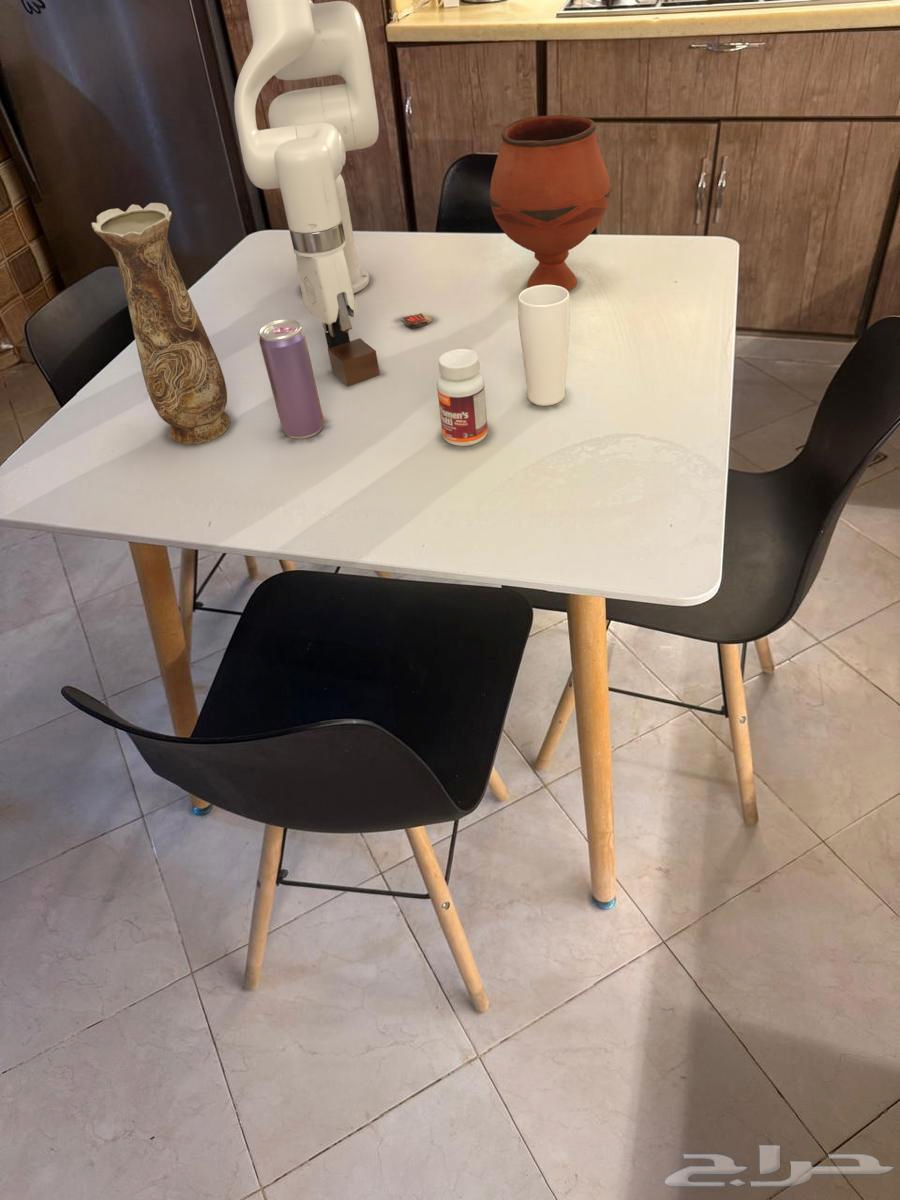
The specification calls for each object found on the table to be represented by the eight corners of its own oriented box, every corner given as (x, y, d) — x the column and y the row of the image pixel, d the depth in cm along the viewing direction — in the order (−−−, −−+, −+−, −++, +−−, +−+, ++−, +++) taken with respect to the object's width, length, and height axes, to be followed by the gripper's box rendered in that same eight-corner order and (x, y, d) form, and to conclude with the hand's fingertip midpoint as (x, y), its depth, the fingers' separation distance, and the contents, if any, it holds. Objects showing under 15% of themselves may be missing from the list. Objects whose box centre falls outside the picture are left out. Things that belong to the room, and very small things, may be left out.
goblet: (495, 267, 158) (486, 115, 142) (602, 258, 157) (605, 103, 140) (495, 312, 144) (485, 150, 128) (612, 303, 143) (617, 137, 126)
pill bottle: (435, 443, 116) (425, 366, 109) (454, 420, 120) (446, 344, 113) (477, 450, 114) (470, 372, 107) (495, 426, 118) (489, 349, 111)
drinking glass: (574, 387, 124) (574, 284, 114) (565, 411, 119) (565, 306, 109) (527, 384, 126) (523, 283, 116) (517, 409, 121) (512, 305, 111)
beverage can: (317, 441, 120) (294, 339, 110) (277, 440, 121) (250, 339, 111) (330, 418, 124) (308, 318, 114) (291, 417, 125) (266, 318, 115)
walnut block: (332, 373, 134) (327, 349, 132) (364, 361, 136) (359, 337, 133) (347, 386, 131) (342, 362, 128) (379, 374, 132) (375, 350, 130)
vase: (229, 403, 130) (166, 193, 110) (243, 436, 123) (178, 218, 103) (160, 421, 128) (83, 211, 108) (170, 456, 121) (89, 237, 100)
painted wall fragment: (412, 330, 142) (412, 327, 142) (396, 320, 145) (396, 317, 145) (436, 321, 144) (436, 318, 143) (420, 312, 147) (420, 309, 147)
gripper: (274, 229, 127) (300, 346, 140) (314, 259, 117) (339, 381, 130) (320, 216, 130) (342, 332, 142) (364, 244, 120) (383, 365, 132)
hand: (341, 355), depth 136 cm, fingers closed
